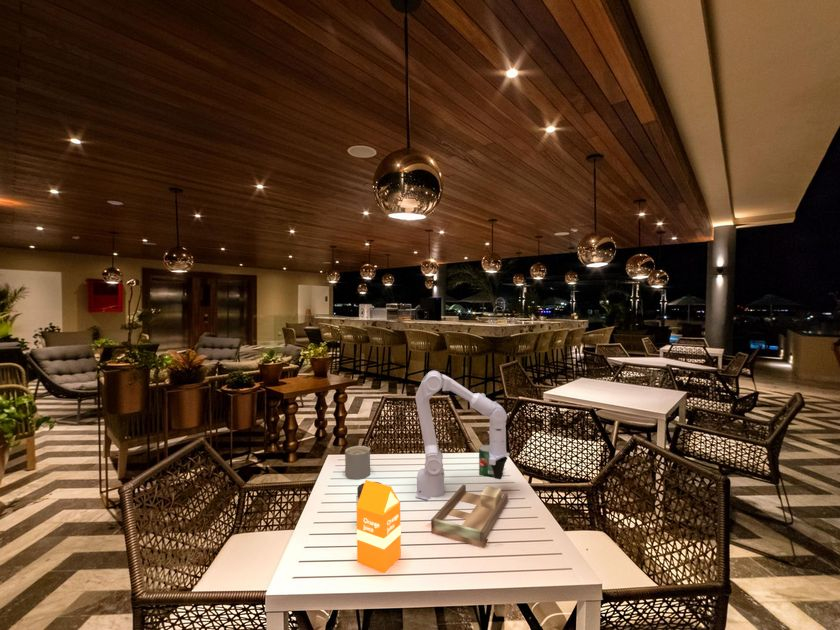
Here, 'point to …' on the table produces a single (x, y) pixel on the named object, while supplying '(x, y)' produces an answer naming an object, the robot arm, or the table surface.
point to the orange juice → (378, 527)
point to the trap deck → (467, 519)
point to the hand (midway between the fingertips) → (498, 478)
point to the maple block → (490, 497)
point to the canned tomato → (485, 462)
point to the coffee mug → (357, 462)
